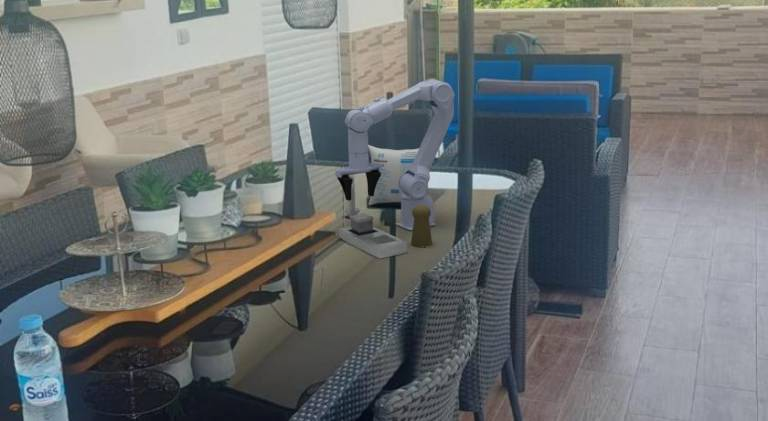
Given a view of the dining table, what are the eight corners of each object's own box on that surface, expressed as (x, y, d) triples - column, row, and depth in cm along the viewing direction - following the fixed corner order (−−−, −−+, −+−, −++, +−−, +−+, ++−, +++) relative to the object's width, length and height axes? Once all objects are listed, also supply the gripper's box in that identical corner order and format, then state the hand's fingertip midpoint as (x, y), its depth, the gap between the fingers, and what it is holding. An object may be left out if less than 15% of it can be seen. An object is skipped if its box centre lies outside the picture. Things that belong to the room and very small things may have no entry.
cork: (430, 247, 252) (430, 209, 249) (409, 246, 253) (408, 208, 250) (433, 241, 258) (433, 203, 255) (412, 240, 259) (412, 203, 256)
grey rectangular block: (365, 237, 263) (364, 213, 261) (373, 241, 259) (373, 217, 257) (350, 240, 260) (350, 216, 258) (359, 244, 256) (358, 220, 254)
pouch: (423, 211, 288) (423, 149, 282) (365, 208, 293) (364, 147, 287) (429, 204, 295) (428, 144, 290) (372, 201, 300) (371, 142, 295)
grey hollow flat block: (365, 233, 266) (365, 223, 265) (407, 252, 248) (407, 242, 248) (338, 238, 262) (338, 228, 261) (379, 258, 244) (379, 248, 243)
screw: (363, 216, 283) (353, 220, 280) (351, 213, 286) (341, 217, 283) (362, 175, 280) (352, 178, 276) (350, 173, 283) (340, 176, 279)
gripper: (372, 146, 268) (373, 191, 272) (329, 152, 261) (331, 198, 264) (385, 150, 262) (386, 196, 266) (341, 157, 255) (343, 203, 259)
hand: (359, 197), depth 265 cm, fingers open, 7 cm apart
